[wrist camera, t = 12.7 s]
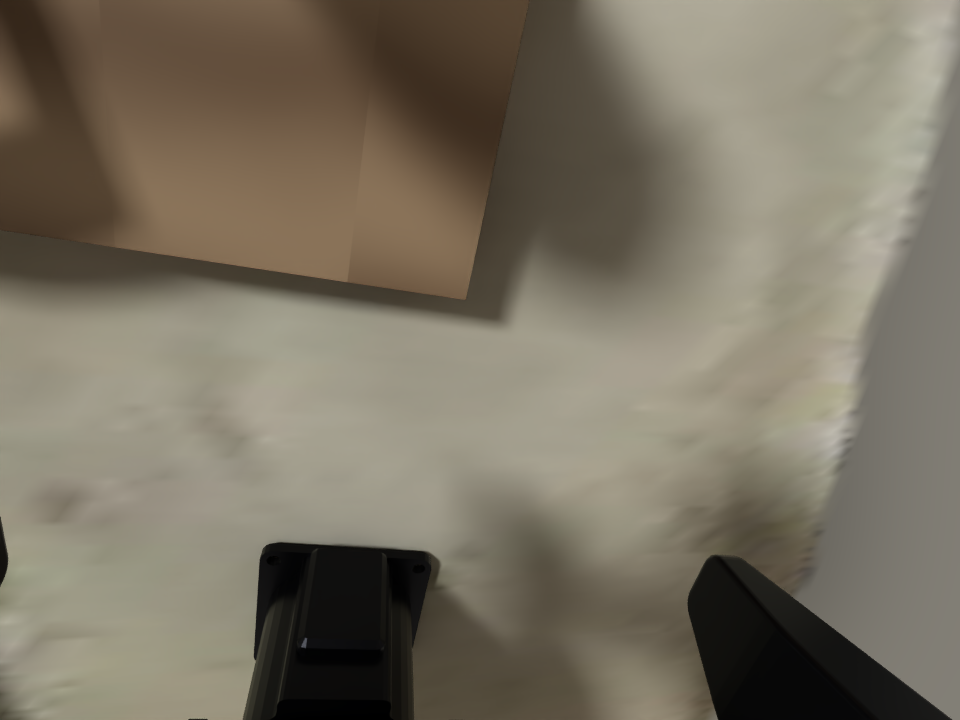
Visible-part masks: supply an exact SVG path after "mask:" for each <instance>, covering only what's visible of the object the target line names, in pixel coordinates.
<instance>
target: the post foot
mask: <svg viewBox="0 0 960 720" xmlns="http://www.w3.org/2000/svg"><path fill="white" fill-rule="evenodd" d="M529 1H530V0H0V230H3V231H10V232H17V233H23V234H30V235H37V236H43V237H50V238H57V239H63V240H70V241H77V242H83V243H90V244H97V245H103V246H110V247H116V248H123V249H130V250H136V251H143V252H150V253H156V254H163V255H170V256H176V257H183V258H190V259H196V260H203V261H210V262H216V263H223V264H230V265H236V266H243V267H250V268H256V269H263V270H270V271H276V272H283V273H289V274H296V275H303V276H309V277H316V278H323V279H329V280H336V281H343V282H349V283H356V284H363V285H369V286H376V287H383V288H389V289H396V290H403V291H409V292H416V293H423V294H429V295H436V296H442V297H449V298H456V299H462V300H466V296H467V291H468V286H469V282H470V277H471V272H472V268H473V263H474V258H475V254H476V249H477V244H478V240H479V235H480V230H481V226H482V221H483V216H484V211H485V207H486V202H487V197H488V193H489V188H490V183H491V179H492V174H493V169H494V165H495V160H496V155H497V151H498V146H499V141H500V136H501V132H502V127H503V122H504V118H505V113H506V108H507V104H508V99H509V94H510V90H511V85H512V80H513V76H514V71H515V66H516V61H517V57H518V52H519V47H520V43H521V38H522V33H523V29H524V24H525V19H526V15H527V10H528V5H529Z"/></svg>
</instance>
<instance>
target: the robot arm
mask: <svg viewBox="0 0 960 720" xmlns="http://www.w3.org/2000/svg"><path fill="white" fill-rule="evenodd" d="M271 556H277V558H274V557H271ZM417 564H421V565H420V566H416V565H417ZM7 567H8V553H7V548H6V543H5V538H4V532H3V527H2V522H1V517H0V586H1V584H2V582H3V580H4V577H5V574H6V571H7ZM430 572H431V560H430V557H429V555H427V554H426V553H423V552H412V551H396V550H380V549H363V548H347V547H331V546H314V545H298V544H282V543H272V544H269V545H266V546H265V547H264V548H263V550H262V553H261V557H260V564H259V581H258V597H257V613H256V630H255V646H254V659H255V660H256V663H255V667H254V672H253V676H252V681H251V685H250V690H249V694H248V698H247V703H246V707H245V712H244V716H243V720H414V698H413V661H412V648H413V644H414V639H415V635H416V631H417V627H418V623H419V618H420V614H421V610H422V606H423V601H424V597H425V593H426V589H427V584H428V580H429V576H430ZM688 612H689V616H690V620H691V623H692V627H693V631H694V635H695V638H696V642H697V646H698V649H699V653H700V657H701V660H702V664H703V668H704V671H705V675H706V679H707V683H708V686H709V690H710V694H711V697H712V701H713V704H714V708H715V711H716V714H717V718H718V720H952V719H950V718H949V717H948V716H947V715H946V714H944V713H943V712H942V711H940V710H939V709H938V708H936V707H935V706H934V705H932V704H931V703H930V702H929V701H927V700H926V699H924V698H923V697H922V696H921V695H919V694H918V693H917V692H916V691H914V690H913V689H912V688H910V687H909V686H908V685H906V684H905V683H904V682H902V681H901V680H900V679H899V678H897V677H896V676H895V675H893V674H892V673H891V672H889V671H888V670H887V669H885V668H884V667H883V666H882V665H880V664H879V663H877V662H876V661H875V660H874V659H872V658H871V657H870V656H868V655H867V654H866V653H864V652H863V651H862V650H861V649H859V648H858V647H857V646H855V645H854V644H853V643H851V642H850V641H849V640H848V639H846V638H845V637H844V636H842V635H841V634H840V633H838V632H837V631H836V630H835V629H833V628H832V627H831V626H829V625H828V624H827V623H825V622H824V621H823V620H821V619H820V618H819V617H817V616H816V615H815V614H814V613H812V612H811V611H810V610H808V609H807V608H806V607H804V606H803V605H802V604H801V603H799V602H798V601H797V600H795V599H794V598H793V597H791V596H790V595H789V594H788V593H786V592H785V591H784V590H782V589H781V588H780V587H778V586H777V585H776V584H775V583H773V582H772V581H771V580H769V579H768V578H767V577H765V576H764V575H763V574H761V573H760V572H759V571H758V570H756V569H755V568H754V567H752V566H751V565H750V564H748V563H747V562H746V561H744V560H743V559H742V558H739V557H736V556H728V555H712V556H710V557H709V558H708V559H707V560H706V561H705V563H704V565H703V567H702V569H701V571H700V573H699V575H698V577H697V579H696V580H695V582H694V584H693V586H692V588H691V590H690V592H689V596H688ZM188 720H208V719H188Z"/></svg>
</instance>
